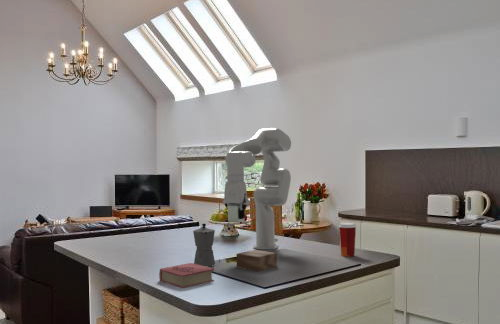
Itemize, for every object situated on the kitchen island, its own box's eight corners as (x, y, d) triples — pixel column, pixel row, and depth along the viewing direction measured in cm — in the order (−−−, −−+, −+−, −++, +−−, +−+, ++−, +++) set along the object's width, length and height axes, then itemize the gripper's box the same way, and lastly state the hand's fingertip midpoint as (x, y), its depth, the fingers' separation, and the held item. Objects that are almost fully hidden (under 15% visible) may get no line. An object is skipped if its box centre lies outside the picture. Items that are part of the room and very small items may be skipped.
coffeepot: (217, 267, 196) (217, 224, 196) (195, 269, 193) (194, 225, 194) (212, 260, 211) (211, 220, 211) (191, 261, 208) (191, 221, 209)
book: (189, 275, 185) (189, 262, 185) (214, 281, 174) (213, 268, 174) (158, 281, 175) (158, 268, 175) (182, 289, 164) (182, 275, 164)
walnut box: (255, 263, 205) (255, 249, 205) (276, 266, 197) (276, 252, 197) (236, 268, 196) (236, 253, 196) (258, 272, 188) (258, 257, 188)
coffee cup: (357, 254, 221) (357, 222, 221) (355, 257, 213) (355, 224, 213) (339, 253, 224) (339, 222, 224) (337, 256, 216) (336, 224, 216)
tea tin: (234, 220, 216) (234, 203, 216) (244, 221, 213) (244, 203, 213) (228, 221, 212) (227, 204, 212) (237, 222, 209) (237, 204, 209)
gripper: (215, 178, 214) (216, 218, 214) (246, 179, 204) (247, 220, 205) (225, 178, 220) (226, 216, 220) (255, 178, 211) (256, 218, 211)
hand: (236, 218), depth 212 cm, fingers closed on tea tin, 5 cm apart
